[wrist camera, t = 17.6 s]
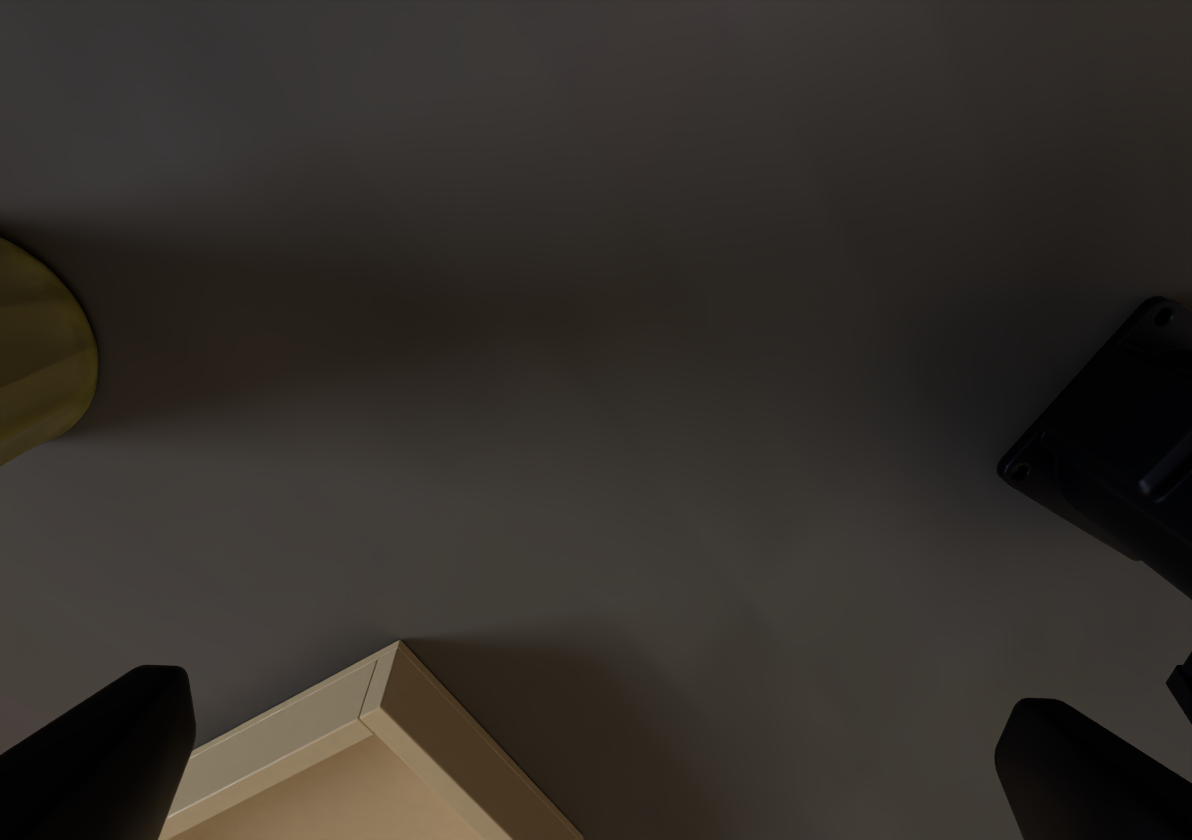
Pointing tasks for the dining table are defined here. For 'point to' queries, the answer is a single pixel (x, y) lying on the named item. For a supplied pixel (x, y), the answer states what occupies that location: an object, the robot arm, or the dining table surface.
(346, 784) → the tray
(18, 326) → the vase
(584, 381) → the dining table surface
